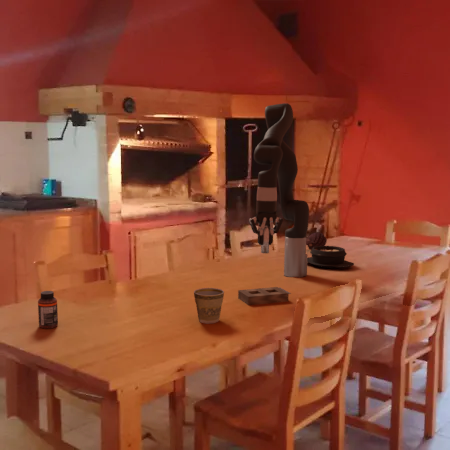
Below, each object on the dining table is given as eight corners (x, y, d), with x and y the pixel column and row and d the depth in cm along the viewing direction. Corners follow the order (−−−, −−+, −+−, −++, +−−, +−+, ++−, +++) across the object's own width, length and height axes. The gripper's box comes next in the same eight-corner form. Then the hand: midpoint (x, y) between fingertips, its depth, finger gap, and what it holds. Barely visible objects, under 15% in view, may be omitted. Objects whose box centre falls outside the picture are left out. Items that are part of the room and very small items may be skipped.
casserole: (294, 265, 300) (295, 247, 299) (315, 259, 314) (316, 242, 313) (341, 273, 284) (342, 254, 283) (361, 266, 298) (362, 249, 297)
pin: (266, 251, 242) (267, 225, 241) (270, 253, 240) (271, 226, 238) (259, 252, 241) (260, 226, 240) (262, 253, 238) (263, 227, 237)
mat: (279, 288, 256) (279, 287, 256) (290, 294, 246) (290, 293, 246) (257, 290, 252) (257, 289, 252) (267, 296, 243) (267, 295, 243)
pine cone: (318, 247, 346) (319, 229, 344) (334, 249, 339) (334, 231, 338) (299, 251, 333) (299, 232, 331) (314, 254, 326) (315, 235, 325)
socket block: (276, 295, 244) (277, 286, 244) (288, 302, 235) (288, 293, 235) (238, 299, 239) (238, 290, 238) (248, 306, 230) (248, 296, 229)
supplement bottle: (40, 323, 207) (39, 289, 205) (59, 323, 208) (58, 289, 206) (37, 329, 201) (35, 294, 200) (56, 329, 202) (55, 294, 200)
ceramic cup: (213, 327, 205) (213, 297, 204) (187, 322, 210) (187, 292, 209) (233, 317, 216) (234, 288, 214) (209, 312, 221) (209, 284, 220)
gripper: (279, 198, 244) (277, 242, 246) (245, 198, 239) (244, 243, 241) (288, 200, 237) (286, 245, 239) (253, 200, 232) (251, 246, 234)
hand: (265, 244), depth 240 cm, fingers closed on pin, 3 cm apart
